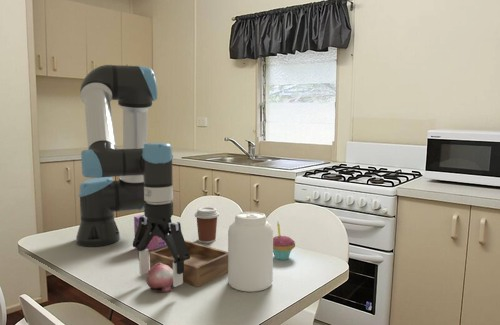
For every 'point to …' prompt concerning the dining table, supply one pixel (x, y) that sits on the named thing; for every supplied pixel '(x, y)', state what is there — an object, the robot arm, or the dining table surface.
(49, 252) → the dining table surface
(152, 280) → the onion
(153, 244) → the box
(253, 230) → the white lidded jar
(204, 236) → the coffee cup
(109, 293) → the dining table surface
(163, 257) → the wooden tray
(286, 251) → the cupcake
